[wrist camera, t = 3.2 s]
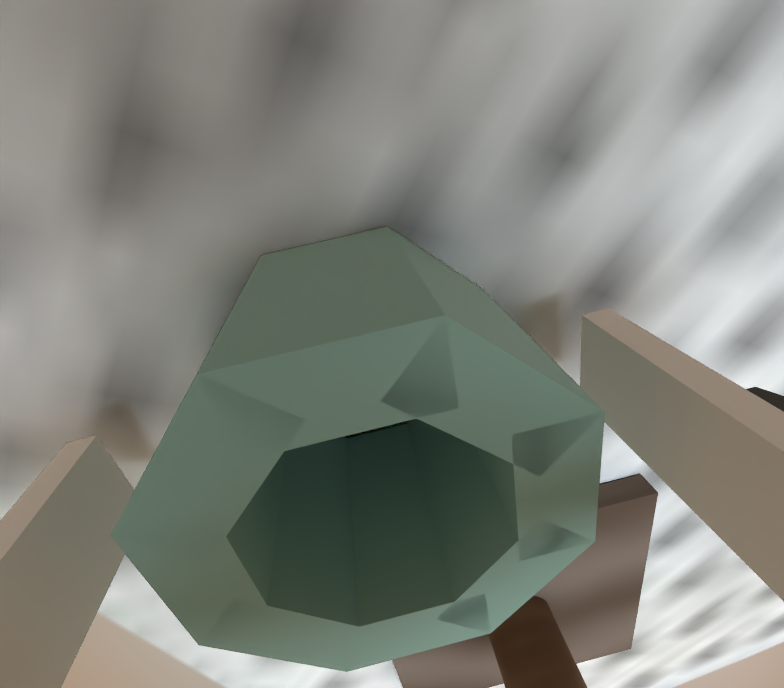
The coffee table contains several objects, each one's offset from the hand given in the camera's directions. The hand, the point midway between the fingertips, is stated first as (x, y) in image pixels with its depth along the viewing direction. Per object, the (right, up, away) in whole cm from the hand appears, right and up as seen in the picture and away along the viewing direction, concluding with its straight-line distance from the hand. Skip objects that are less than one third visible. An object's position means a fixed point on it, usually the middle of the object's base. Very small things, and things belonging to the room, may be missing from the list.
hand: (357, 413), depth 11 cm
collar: (0, +1, +1) cm, 2 cm away
